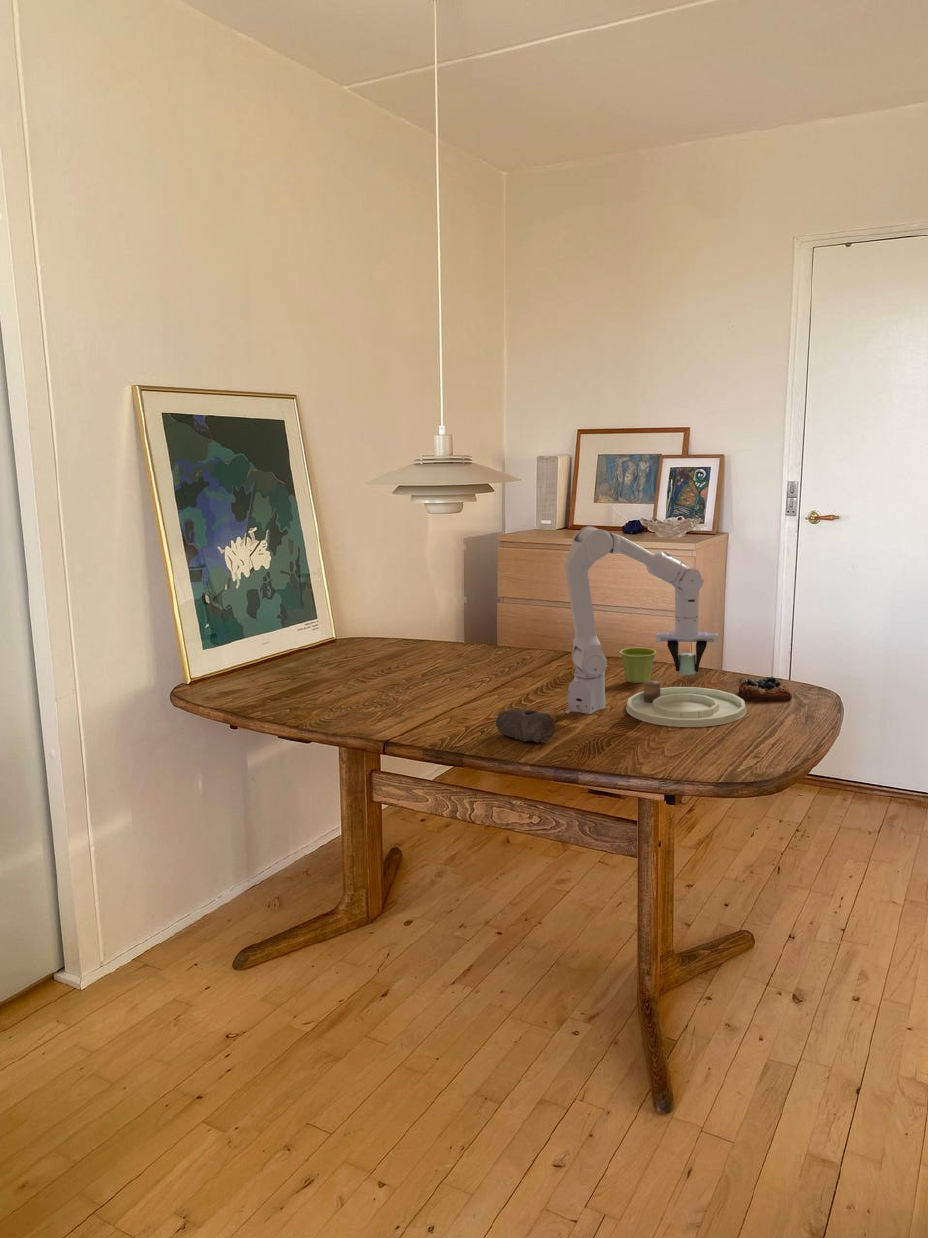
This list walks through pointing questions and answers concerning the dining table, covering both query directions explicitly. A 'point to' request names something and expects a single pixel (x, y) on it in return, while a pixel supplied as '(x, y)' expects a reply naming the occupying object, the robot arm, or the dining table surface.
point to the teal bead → (687, 664)
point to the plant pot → (637, 664)
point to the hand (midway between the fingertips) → (687, 670)
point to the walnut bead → (651, 691)
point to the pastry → (764, 690)
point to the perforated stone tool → (526, 725)
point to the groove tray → (688, 707)
